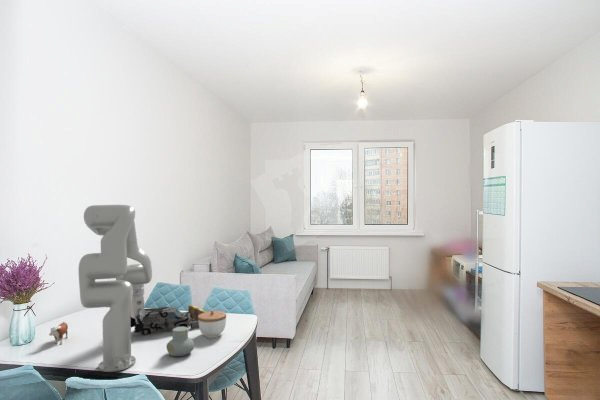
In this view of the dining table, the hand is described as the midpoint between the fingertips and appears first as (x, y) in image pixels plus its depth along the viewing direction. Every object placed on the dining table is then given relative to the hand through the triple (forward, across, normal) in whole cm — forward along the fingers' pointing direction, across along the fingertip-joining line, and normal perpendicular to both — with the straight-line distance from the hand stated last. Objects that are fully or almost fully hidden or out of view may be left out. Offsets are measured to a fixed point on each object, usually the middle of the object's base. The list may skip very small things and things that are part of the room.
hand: (135, 329), depth 174 cm
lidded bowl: (+3, -23, -26) cm, 35 cm away
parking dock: (+3, 0, -27) cm, 27 cm away
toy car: (+3, -1, -12) cm, 13 cm away
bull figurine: (+3, +15, +27) cm, 31 cm away
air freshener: (+3, -33, -6) cm, 34 cm away
